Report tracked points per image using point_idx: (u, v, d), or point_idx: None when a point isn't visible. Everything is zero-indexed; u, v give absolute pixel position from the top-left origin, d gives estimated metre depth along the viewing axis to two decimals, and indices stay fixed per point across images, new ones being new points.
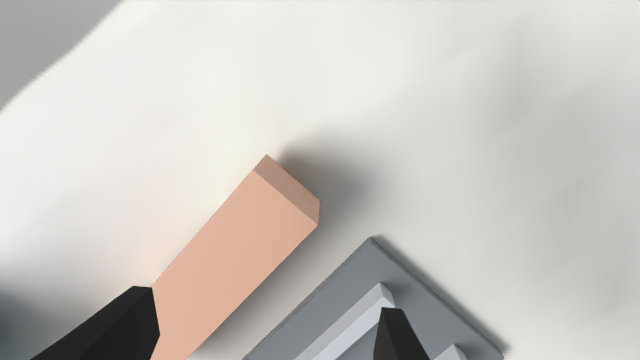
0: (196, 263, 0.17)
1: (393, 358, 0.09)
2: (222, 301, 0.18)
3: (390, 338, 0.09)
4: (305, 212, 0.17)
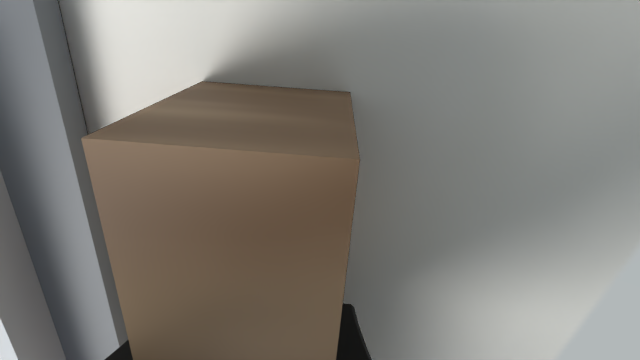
0: None
1: None
2: None
3: None
4: None
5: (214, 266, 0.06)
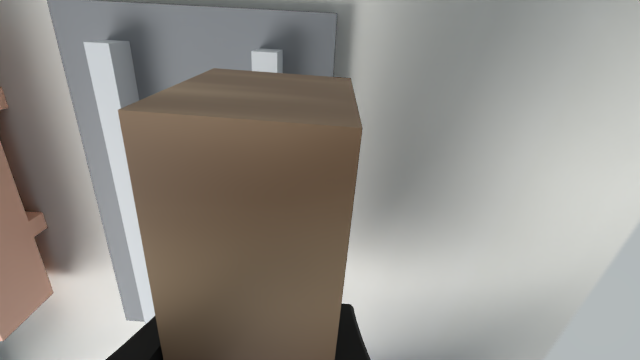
0: None
1: None
2: None
3: None
4: None
5: (231, 228, 0.07)
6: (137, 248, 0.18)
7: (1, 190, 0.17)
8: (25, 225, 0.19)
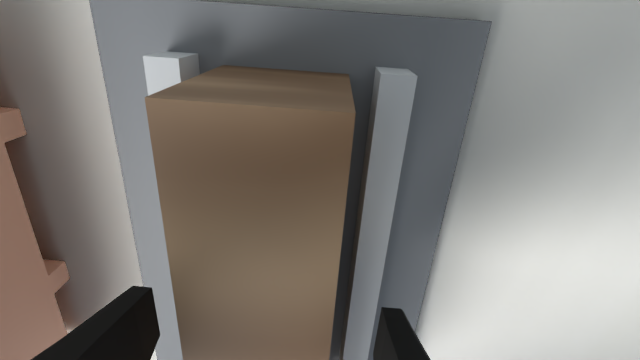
0: None
1: (393, 358, 0.09)
2: None
3: (390, 338, 0.09)
4: None
5: (241, 203, 0.08)
6: None
7: (16, 242, 0.13)
8: (44, 281, 0.15)
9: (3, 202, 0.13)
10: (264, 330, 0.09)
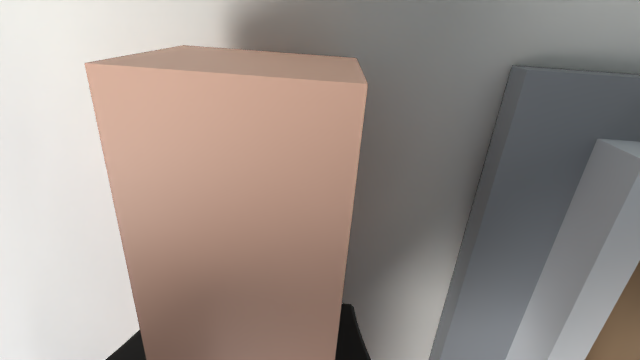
0: (188, 350, 0.07)
1: None
2: None
3: None
4: (309, 77, 0.05)
5: None
6: None
7: None
8: None
9: None
10: None
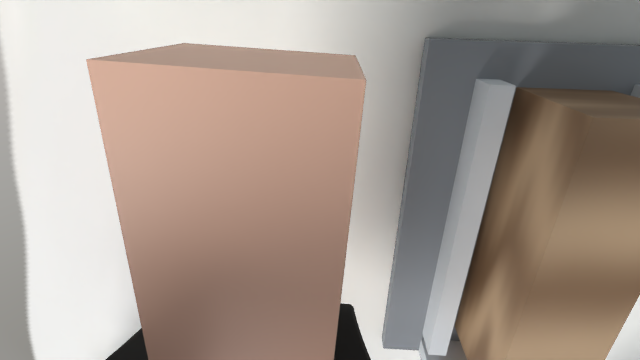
0: (188, 344, 0.07)
1: None
2: None
3: None
4: (309, 74, 0.05)
5: (626, 184, 0.11)
6: (453, 282, 0.18)
7: None
8: None
9: None
10: (600, 275, 0.13)
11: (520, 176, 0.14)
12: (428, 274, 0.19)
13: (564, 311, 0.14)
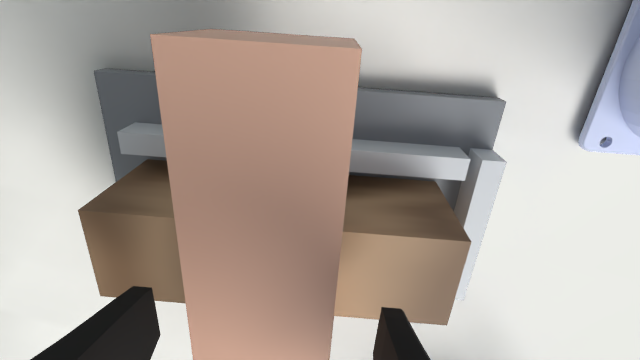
0: (218, 275, 0.09)
1: (393, 358, 0.09)
2: (304, 306, 0.09)
3: (390, 338, 0.09)
4: (318, 45, 0.07)
5: (145, 265, 0.13)
6: None
7: None
8: None
9: None
10: None
11: None
12: None
13: None
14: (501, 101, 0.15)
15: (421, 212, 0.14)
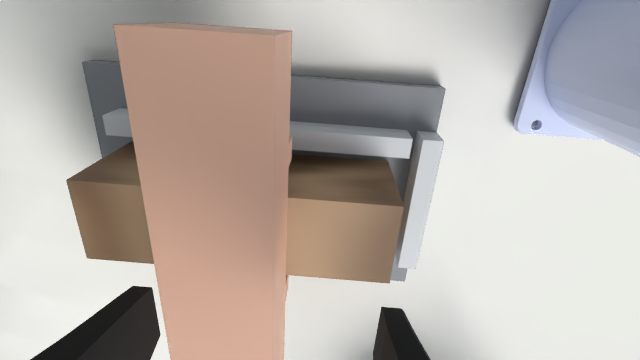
0: (176, 223, 0.11)
1: (393, 358, 0.09)
2: (249, 250, 0.11)
3: (390, 338, 0.09)
4: (242, 33, 0.09)
5: (125, 229, 0.15)
6: None
7: (283, 256, 0.15)
8: (284, 291, 0.16)
9: (284, 221, 0.14)
10: None
11: None
12: None
13: None
14: (441, 88, 0.17)
15: (367, 184, 0.16)
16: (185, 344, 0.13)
